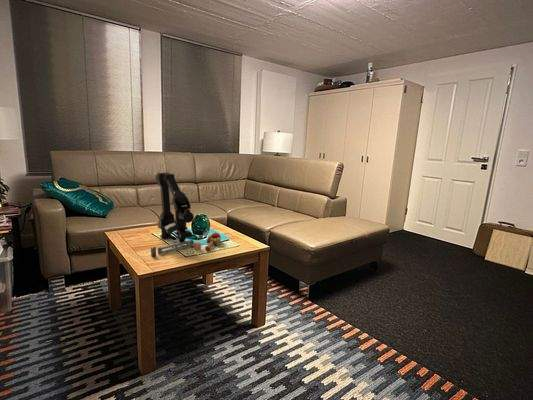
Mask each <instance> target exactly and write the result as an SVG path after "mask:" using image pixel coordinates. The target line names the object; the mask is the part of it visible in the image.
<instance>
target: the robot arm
mask: <svg viewBox="0 0 533 400" xmlns="http://www.w3.org/2000/svg"><path fill="white" fill-rule="evenodd" d="M155 180H156V184H157V185H158V186H159V187H160V199H161V201H160V202H161V210H162V211H161V213H160V215H159V220H158V222H157V228H158V229H160V231H161V233H160V235H159V237H160V238H161V239H162V240H163V239H164V240H165V239H171V238H174V236H173V234H172V233H174V234H175V235H176V236H177V238H178V241H179V242H178V243H180V242H184V241H186V239H187V238H192V237H193V232H192V231H190V230H189V229H188V227H187V224H189V223H192V222H193V220H194V214H193V213H192V212H191V209H192V207H191V202H190V201H189V199H188V198H189V197H188V196H187V195H186V194H185V193H184V192H183V191H181V189H180V187H179V185H178V182H177V180H176V178H175V174H174V173H170V172H158V173H157V174H156V175H155ZM170 193H171V195H172V199H171V200H172V201H170ZM171 202H172V205H173V207H174V208H173V209H174V213H172V211H171Z"/></svg>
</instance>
